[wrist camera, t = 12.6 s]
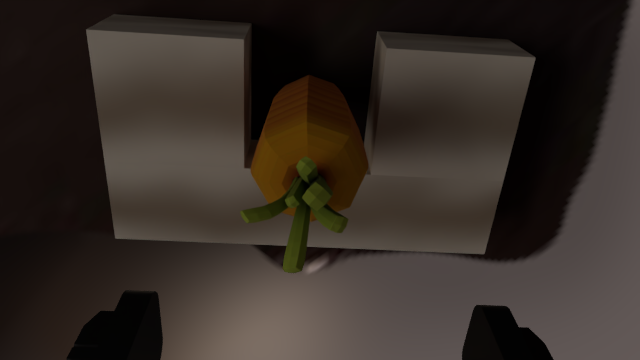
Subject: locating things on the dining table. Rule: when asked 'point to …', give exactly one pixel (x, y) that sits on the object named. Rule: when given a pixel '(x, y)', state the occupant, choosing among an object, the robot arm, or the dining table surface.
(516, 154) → the dining table surface
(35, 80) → the dining table surface
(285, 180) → the carrot
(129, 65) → the notched board
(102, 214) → the dining table surface
